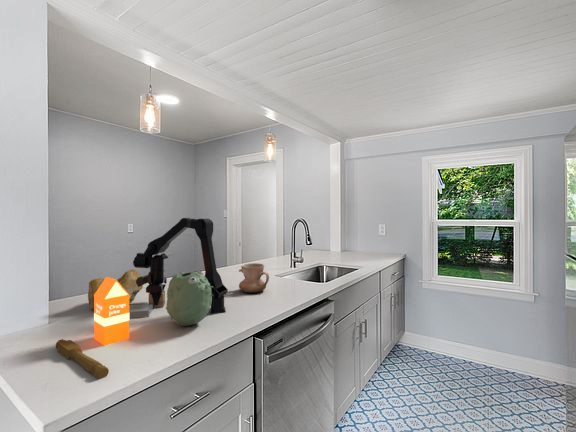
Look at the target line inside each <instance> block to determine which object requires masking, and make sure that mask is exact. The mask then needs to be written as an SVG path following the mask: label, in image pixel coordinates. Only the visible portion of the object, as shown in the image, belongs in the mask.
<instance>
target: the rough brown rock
mask: <svg viewBox="0 0 576 432" xmlns="http://www.w3.org/2000/svg"><path fill="white" fill-rule="evenodd" d="M138 277H141V274H140V273H139V272H138V271H137V270H136V269H130V270H127V271H125V272H124V273H123V275H122V276H120V277H119V278H118V279H116V280H117V281H118V282H119V284H120V285H121V286H122V287H123V288H124V290H125V291H126V292H127V293H128V294H129V304H130V303H132V302H134V301H135V299H136V296H137V294H139V292H140V291H141V290H142V289H143V287H144V286H143V285H141V286H140V287H138V285H137V284H136V279H137V278H138ZM104 280H105V278H102V277H100V278H93V279H91V280H90V281H89V283H88V292H87V301H88V306H89V308H90V309H91V310H93V311H94V294H95V293H96V291H97V290H98V289H99V287H100V286H101V284H102V283H103V281H104Z"/></svg>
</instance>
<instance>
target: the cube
mask: <svg viewBox="0 0 576 432" xmlns="http://www.w3.org/2000/svg"><path fill="white" fill-rule="evenodd" d="M148 304H153V309H159V308H164V306H165V304H166V290H165V289H164V291H162V294H161V297H160V299H159V302H158V305H156V306H155V305H154V302H153V298H152V295H151V294H150V293H148Z"/></svg>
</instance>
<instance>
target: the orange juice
mask: <svg viewBox="0 0 576 432" xmlns="http://www.w3.org/2000/svg"><path fill="white" fill-rule="evenodd" d="M104 279H105V280H104V281H103V283H102V284H101V286H100V287H99V289H98V290H97V291H96V293H95V294H94V310H93V323H94V325H93V333H94V335H93V336H94V337H93V338H94V340H96V341H97V342H99V343H100V344H101V345H102V346H105V347H106V346H109V345H111V344H115V343H118V342H122V341H125V340H129V339H130V318H129V305H130V303H129V294H128V293H127V292H126V291H125V290H124V288H123V287H122V286H121V285H120V284H119V282H118V281H117V279H116V278H111V277H109V276H106V277H105V278H104Z"/></svg>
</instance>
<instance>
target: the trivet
mask: <svg viewBox="0 0 576 432" xmlns="http://www.w3.org/2000/svg"><path fill="white" fill-rule="evenodd" d="M153 310H154V308H153V304H149V303H143V304H129V319H138V318H140V319H141V318H149V317H150V315H151V313H152V311H153Z"/></svg>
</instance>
